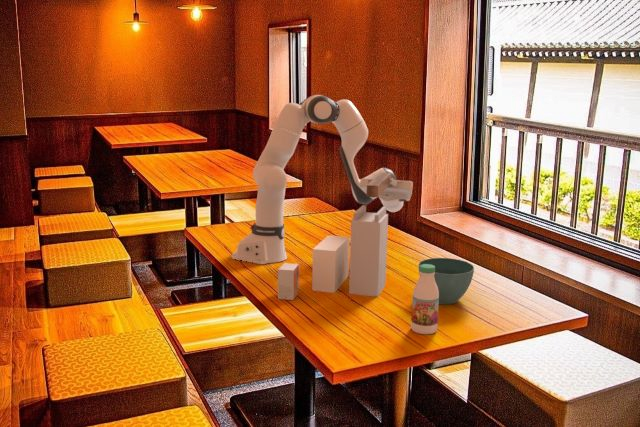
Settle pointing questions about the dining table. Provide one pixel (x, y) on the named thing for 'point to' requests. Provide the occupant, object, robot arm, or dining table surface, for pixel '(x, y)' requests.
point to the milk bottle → (425, 302)
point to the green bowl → (451, 278)
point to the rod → (378, 185)
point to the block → (330, 263)
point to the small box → (288, 281)
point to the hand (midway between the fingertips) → (383, 179)
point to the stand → (368, 252)
